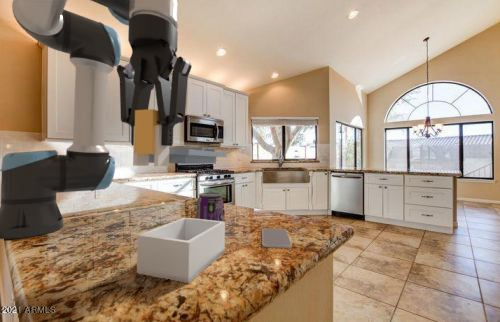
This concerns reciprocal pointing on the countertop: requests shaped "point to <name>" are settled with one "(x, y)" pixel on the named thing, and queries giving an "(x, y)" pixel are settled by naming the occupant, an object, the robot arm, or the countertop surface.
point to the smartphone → (275, 238)
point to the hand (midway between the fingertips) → (151, 165)
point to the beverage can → (210, 206)
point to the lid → (182, 155)
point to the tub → (180, 248)
